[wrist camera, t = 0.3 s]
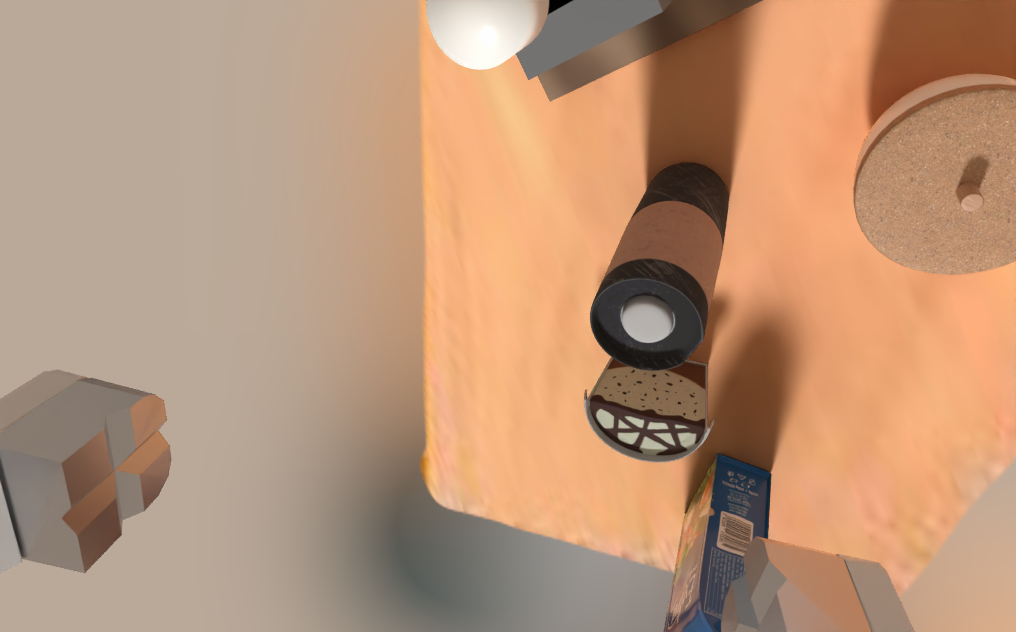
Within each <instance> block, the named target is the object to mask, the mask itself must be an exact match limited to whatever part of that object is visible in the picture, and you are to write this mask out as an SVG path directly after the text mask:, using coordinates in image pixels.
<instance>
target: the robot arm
mask: <svg viewBox="0 0 1016 632" xmlns="http://www.w3.org/2000/svg"><path fill="white" fill-rule="evenodd" d="M166 421H167V416H166V410H165V404H164V400H163V399H161V398H159V397H158V396H156V395H155V394H152V393H147V392H144V391H140V390H136V389H133V388H129V387H125V386H121V385H117V384H113V383H110V382H105V381H102V380H98V379H94V378H87V377H84V376H80V375H76V374H72V373H69V372H65V371H61V370H54V371H46V372H43V373H41V374H40V375H38V376H36V377H35V378H33V379H32V380H30V381H28V382H27V383H25V384H24V385H22V386H20V387H19V388H17V389H15V390H14V391H12V392H11V393H9V394H7V395H6V396H4V397H3V398H1V399H0V574H1V573H3V572H4V571H6V570H8V569H10V568H12V567H14V566H16V565H18V564H20V563H22V559H26V560H30V561H34V562H39V563H43V564H47V565H52V566H56V567H60V568H65V569H69V570H73V571H78V572H82V573H85V572H86V571H87V570H88V569H89V568H90V567H91V566H92V565H93V564H94V563H95V562H96V561H97V560H98V559H99V558H100V557H101V556H102V555H103V554H104V553H105V552H106V551H107V550H108V548H110V547H111V545H112V544H113V543H114V542H115V541H116V540H117V539H118V538H119V537H120V536H121V535H122V520H124V519H126V518H129V517H131V516H133V515H136V514H138V513H141V512H143V511H145V510H146V509H147V508H148V507H149V505H150V504H151V503H152V502H153V501H154V500H155V499H156V498H157V497H158V496H159V494H160V492H161V489H162V488H163V486H164V484H165V482H166V480H167V478H168V475H169V470H170V463H171V453H170V445H169V444H168V442H167V441H166V440H165V439H164V437H163V436H162V434H161V433H160V432H159V431H158V430H159V429H160V428H161V426H162V425H163V424H164V423H165V422H166ZM743 561H744V567H745V572H746V575H744V576H742V577H740V578H738V579H736V580H734V581H733V582H732V583H731V586H730V588H729V591H728V593H727V596H726V598H725V601H724V607H723V613H722V619H721V632H914V630H913V627H912V625H911V623H910V621H909V619H908V616H907V614H906V612H905V610H904V608H903V606H902V603H901V601H900V599H899V597H898V595H897V592H896V590H895V588H894V586H893V584H892V582H891V579H890V577H889V575H888V573H887V571H886V570H885V569H884V568H883V567H882V566H881V565H880V564H879V563H877V562H872V561H868V560H863V559H858V558H854V557H849V556H844V555H840V554H836V555H834V554H832V553H827V552H823V551H819V550H814V549H810V548H806V547H801V546H797V545H792V544H788V543H784V542H779V541H775V540H771V539H766V538H762V537H758V536H756V537H755V538H754V539H753V540H752V541H751V542H750V543H749V545H748V547H747V549H746V552H745V554H744V556H743Z"/></svg>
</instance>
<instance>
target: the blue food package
mask: <svg viewBox="0 0 1016 632" xmlns="http://www.w3.org/2000/svg"><path fill="white" fill-rule="evenodd" d="M770 491H771V473H769V472H767V471H765V470H762V469H759V468H757V467H754V466H751V465H749V464H746V463H743V462H741V461H738V460H735V459H732V458H730V457H727V456H724V455H721V454H718V455H717V457H716V458H715V460H714V462H713V463H712V465H711V466H710V468H709V470H708V472H707V474H706V476H705V478H704V480H703V481H702V483H701V485H700V487H699V489H698V490H697V492H696V494H695V495H694V497H693V499H692V501H691V503H690V505H689V508H688V510H687V512H686V514H685V516H684V520H683V526H682V532H681V537H680V543H679V548H678V554H677V559H676V565H675V570H674V576H673V582H672V587H671V593H670V599H669V605H668V611H667V616H666V621H665V627H664V632H721V619H722V613H723V607H724V601H725V598H726V596H727V593H728V591H729V588H730V586H731V583H732V582H733V581H734V580H736V579H738V578H740V577H742V576H744V575H746V572H745V567H744V561H743V556H744V554H745V552H746V549H747V547H748V545H749V543H750V542H751V541H752V540H753V539H754V538H755V537H756V536H758V537H762V538H766V539H768V529H769V510H770Z"/></svg>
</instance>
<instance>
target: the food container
mask: <svg viewBox="0 0 1016 632" xmlns="http://www.w3.org/2000/svg"><path fill="white" fill-rule="evenodd" d="M584 407H585V412H586V416H587V419H588V422H589V424H590V426H591V428H592V429H593V431H594V432H595V433H596V435H597V436H598V437H599V438H600V439H601V440H602V441H603V442H604V443H605V444H607V445H608V446H609V447H611V448H612V449H614V450H616V451H617V452H619V453H621V454H623V455H626V456H628V457H631V458H634V459H637V460H642V461H647V462H670V461H675V460H679V459H682V458H684V457H686V456H688V455H690V454H691V453H693V452H694V451H696V450H697V449H698V448H699V447H700V446H701V445H702V443H703V442H704V441H705V439H706V438H707V436H708V434H709V432H710V430H711V428H712V426H713V424H714V421H715V419H713V421H712V422H711V424H710V426H709V427H708V364H706V363H701V362H696V361H691V360H686V361H685V362H684V363H683V364H682V365H680V366H678V367H675V368H672V369H668V370H661V371H646V370H640V369H636V368H632V367H629V366H627V365H624V364H622V363H620V362H619V361H617V360H615V359H614V358H612V357H611V358H610V360H609V362H608V364H607V365H606V367H605V369H604V371H603V372H602V374H601V376H600V378H599V379H598V381H597V383H596V385H595V386H594V388H593V390H592V392H591V393H590V395H589V397H588V399H587V390H585V396H584Z"/></svg>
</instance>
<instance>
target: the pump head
mask: <svg viewBox="0 0 1016 632" xmlns="http://www.w3.org/2000/svg"><path fill="white" fill-rule="evenodd" d="M548 8H549V0H427V3H426V10H427V19H428V23H429V27H430V30H431V32H432V35H433V37H434V39H435V41H436V42H437V44H438V45H439V47H440V48H441V49H442V51H443V52H444V53H445V54H446V55H447V56H448V57H449V58H451V59H452V60H453V61H455V62H456V63H458V64H460V65H462V66H464V67H467V68H471V69H479V70H483V69H489V68H493V67H496V66H498V65H500V64H501V63H503V62H505V61H506V60H507V59H509V58H510V57H512V56H513V55H514V54H516V53H517V52H519V51H520V50H521V49H523V48H524V47H526V46H527V45H529V44H530V43H531V42H532V41H533V40H534V39H535V38H536V37H537V36H538V35H539V33H540V32H541V30H542V28H543V26H544V24H545V21H546V18H547V14H548Z"/></svg>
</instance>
